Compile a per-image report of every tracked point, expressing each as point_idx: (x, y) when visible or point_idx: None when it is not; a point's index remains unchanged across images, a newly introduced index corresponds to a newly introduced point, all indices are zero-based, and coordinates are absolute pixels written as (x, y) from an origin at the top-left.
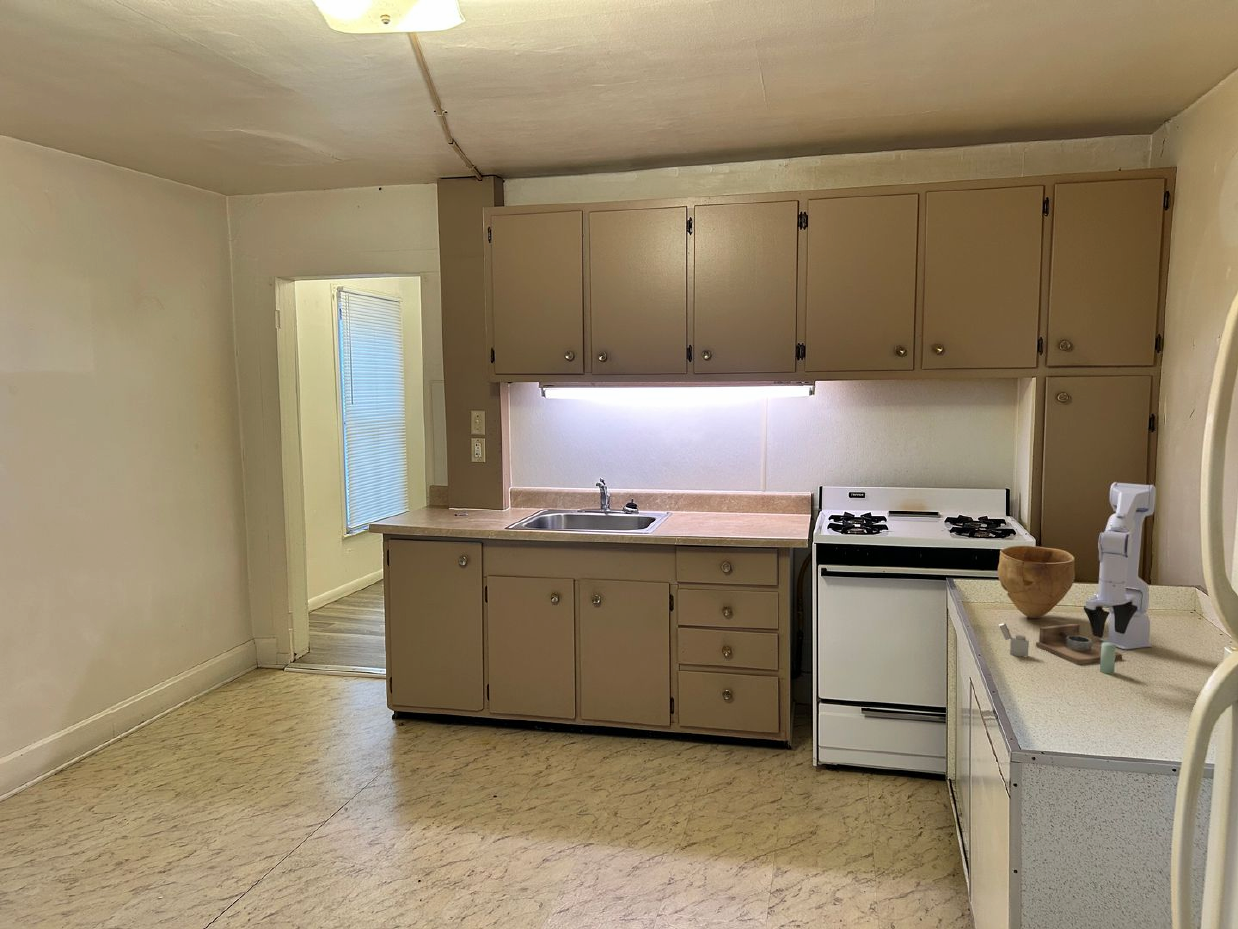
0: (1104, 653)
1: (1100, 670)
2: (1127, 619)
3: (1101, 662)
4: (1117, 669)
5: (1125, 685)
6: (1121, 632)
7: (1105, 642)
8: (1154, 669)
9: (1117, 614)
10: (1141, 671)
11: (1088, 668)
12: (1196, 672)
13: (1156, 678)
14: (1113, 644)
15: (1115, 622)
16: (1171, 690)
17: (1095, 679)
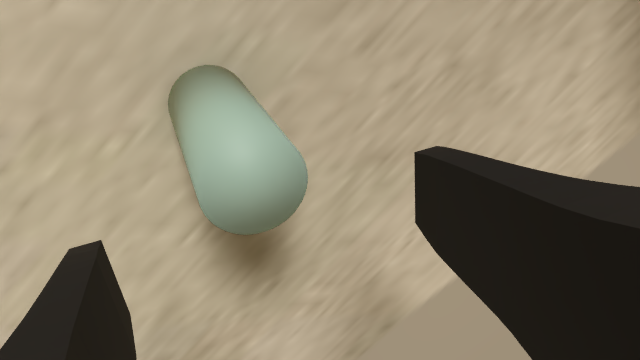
0: (189, 173)
1: (169, 97)
2: (527, 349)
3: (176, 121)
4: (306, 74)
5: (164, 288)
6: (422, 215)
7: (264, 138)
8: (482, 105)
9: (562, 257)
10: (403, 121)
11: (127, 22)
12: (592, 160)
13: (388, 211)
14: (290, 193)
15: (478, 185)
16: (328, 332)
17: (39, 208)
